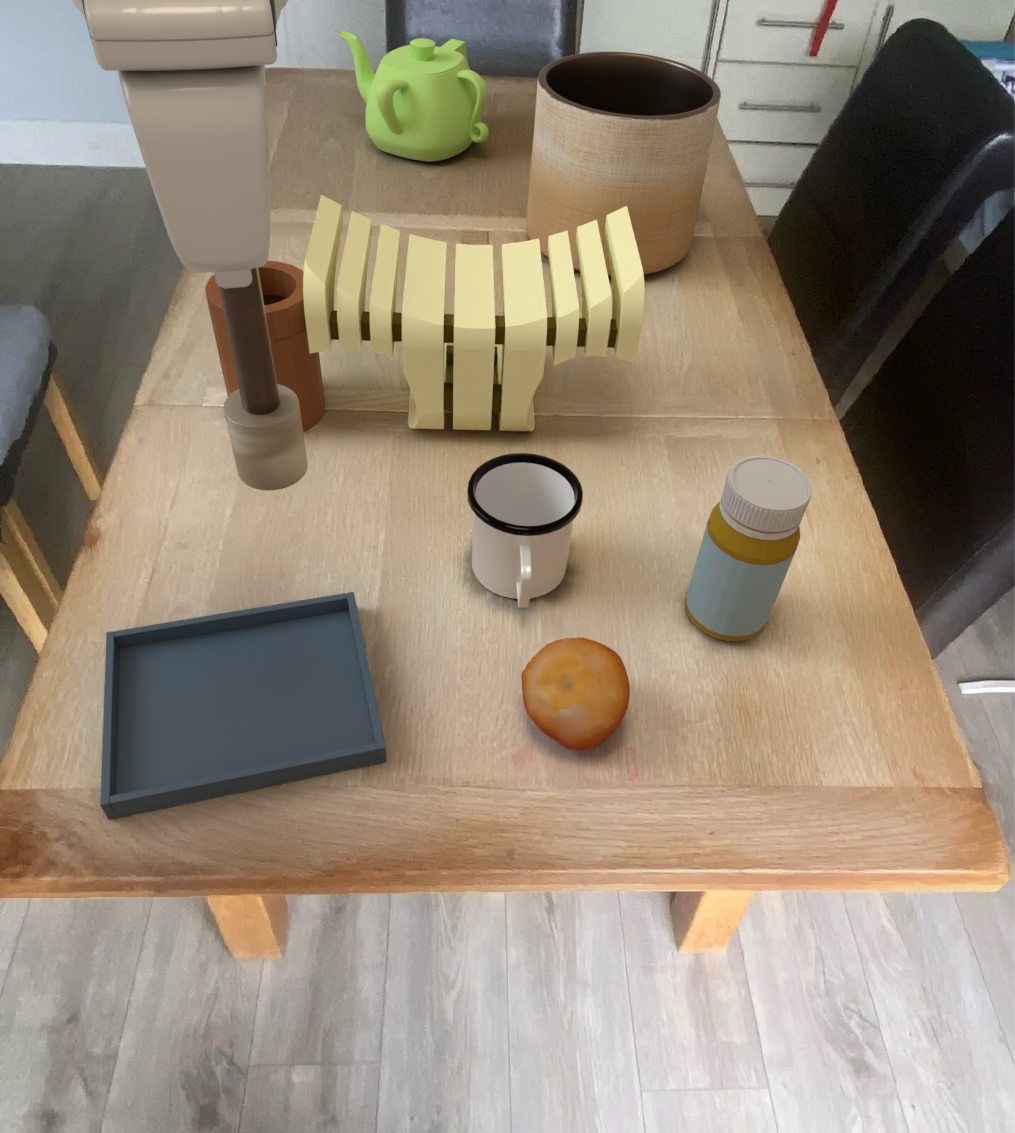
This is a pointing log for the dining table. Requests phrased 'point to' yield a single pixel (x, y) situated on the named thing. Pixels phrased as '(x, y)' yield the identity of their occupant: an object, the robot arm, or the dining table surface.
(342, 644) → the tray
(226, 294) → the bottle brush
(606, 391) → the dining table surface
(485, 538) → the mug
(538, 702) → the fruit
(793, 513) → the bottle
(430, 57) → the teapot
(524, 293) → the slatted curved stool
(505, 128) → the dining table surface
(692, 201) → the planter
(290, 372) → the terracotta utensil crock
